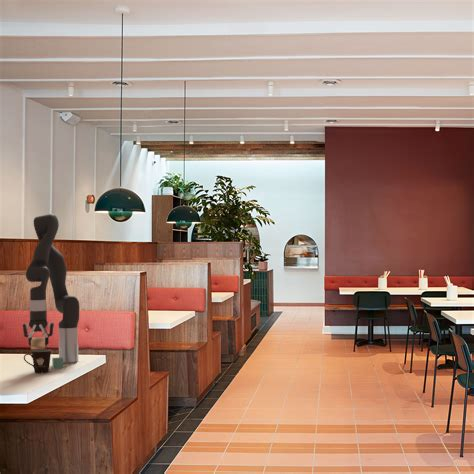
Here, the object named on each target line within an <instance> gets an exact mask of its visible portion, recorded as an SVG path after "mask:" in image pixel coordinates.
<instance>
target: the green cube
mask: <svg viewBox="0 0 474 474" xmlns="http://www.w3.org/2000/svg"><path fill="white" fill-rule="evenodd" d="M51 366H52V369H63V368H64V363H63V358H62V357H59V356H58V357H52V365H51Z"/></svg>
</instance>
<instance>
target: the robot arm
mask: <svg viewBox="0 0 474 474" xmlns="http://www.w3.org/2000/svg"><path fill="white" fill-rule="evenodd" d="M59 225H60V224H59V219H58V217H57V215H55V214H54V213H50V214H49V213H48V214H43V215H39V216H35V217H34V219H33V227H34V231H35V235H36V237H37V240H38V243H37V245H36V246H35V249H34V251H33V257H32V260H31V262H30V264H29V265H28V267H27V269H26V272H25V277H26V280H27V281H28V282H30V283H38V282H39V283H40V284H39V285H38V286H34V287H33V286H32V287H31V288H30V291H29V292H30V293H29V297H30V298H29V299H30V300H29V323H23V324H22V331H23V336H24V337H25V338H27V339H28V340H27V341H28V345H29V347H31V340H32V338H33V337H32V336H33V335H34V333H37V332H40V333H42V334H43V336H44V337H45V346H46V347H47V346H48V345H49V342H50V341H49V339H50V337H52V336H53V334H54V328H55V327H54V326H55V324H54V322H48V320H47V319H48V318H47V317H48V315H47V309H48V307H47V287H48V282H49V280H50V285H51V287H52V292H53V299H54V304H55V305H54V306H55V308H56V310H57V311H58V312H59V313H60V314H62V319H61V320H60V321H59V322H58V358H59V357H62V358H63V364H69V363H70V364H71V363H78V361H79V340H78V339H79V338H78V325H79V321H80V302H79V299H78V297H76V296H74V295H69V292H68V288H67V285H66V284H67V283H66V281H67V280H66V279H67V265H66V260H65V257H64V255H63V254H62V253H61V252H60V251H59V250H58V249H57V248H56V247H55V246H54V245H53V243H54V241H55V238H56V235H57V233H58V230H59ZM47 326H48V328H49V331H47V329H46V328H47ZM28 328H30V333H29V334H28ZM48 332H49V333H48Z"/></svg>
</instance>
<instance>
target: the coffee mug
mask: <svg viewBox="0 0 474 474" xmlns="http://www.w3.org/2000/svg"><path fill="white" fill-rule="evenodd" d="M51 354H52V349H50V348H48V349H47V348H45V349H32V350H31V353H25V354H24V356H23V360H24V362H25V363H27V365H30V366H32V367H33V370H34V374H48V373H49V372H50V364H51V356H52V355H51ZM26 356H30V357H31V359H32V362H33V364H32V363H30V362H29V361H27V359H26Z"/></svg>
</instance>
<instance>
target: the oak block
mask: <svg viewBox="0 0 474 474" xmlns="http://www.w3.org/2000/svg"><path fill="white" fill-rule="evenodd" d="M46 347H47V346H45V336H37V337H36V336H35V337H34V336H33V337H32V340H31V346H30V350H38V349H46Z"/></svg>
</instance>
